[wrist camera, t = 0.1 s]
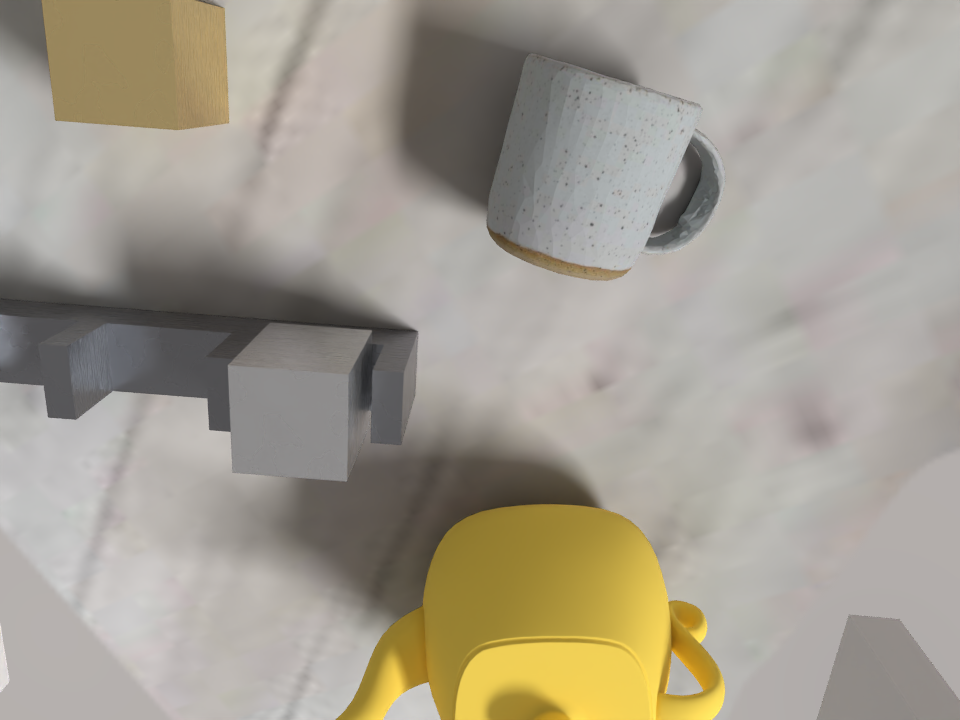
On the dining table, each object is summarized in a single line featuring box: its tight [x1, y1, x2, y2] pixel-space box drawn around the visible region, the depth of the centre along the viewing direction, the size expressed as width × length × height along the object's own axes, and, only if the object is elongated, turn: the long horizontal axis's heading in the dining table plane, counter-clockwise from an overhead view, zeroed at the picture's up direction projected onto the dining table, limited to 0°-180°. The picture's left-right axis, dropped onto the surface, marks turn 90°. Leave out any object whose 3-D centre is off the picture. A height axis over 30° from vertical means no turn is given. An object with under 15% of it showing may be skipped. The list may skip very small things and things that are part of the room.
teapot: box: [336, 504, 725, 720], centre depth 38 cm, size 14×20×13 cm
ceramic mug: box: [487, 53, 725, 281], centre depth 33 cm, size 11×8×8 cm
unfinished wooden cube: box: [41, 0, 229, 130], centre depth 32 cm, size 5×5×6 cm
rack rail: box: [0, 299, 418, 445], centre depth 37 cm, size 4×24×6 cm, turn 86°
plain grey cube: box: [228, 322, 372, 482], centre depth 35 cm, size 5×5×6 cm
